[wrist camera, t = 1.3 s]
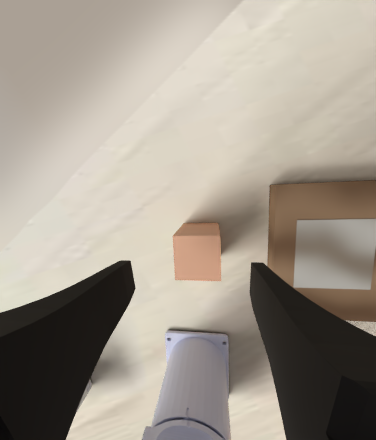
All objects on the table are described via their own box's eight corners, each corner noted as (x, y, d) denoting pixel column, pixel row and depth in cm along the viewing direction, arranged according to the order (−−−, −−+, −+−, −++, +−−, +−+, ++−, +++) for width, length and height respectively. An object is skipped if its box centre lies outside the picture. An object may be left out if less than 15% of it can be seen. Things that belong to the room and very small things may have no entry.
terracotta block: (218, 256, 21) (221, 281, 16) (185, 255, 22) (175, 279, 16) (218, 222, 21) (220, 235, 15) (183, 223, 21) (172, 235, 16)
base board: (371, 309, 20) (389, 323, 18) (266, 305, 22) (272, 317, 20) (387, 180, 18) (410, 178, 16) (269, 185, 19) (276, 184, 17)
